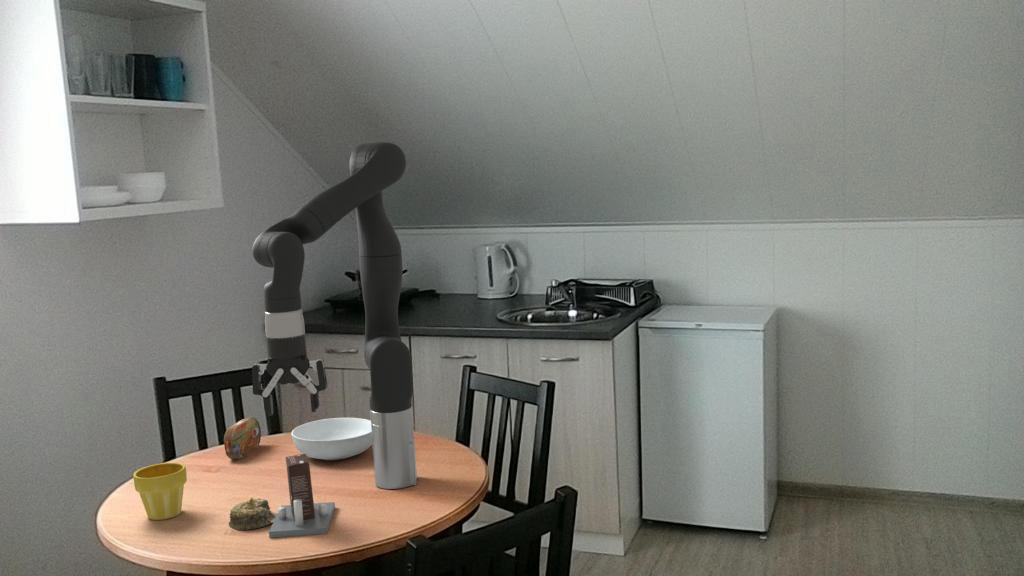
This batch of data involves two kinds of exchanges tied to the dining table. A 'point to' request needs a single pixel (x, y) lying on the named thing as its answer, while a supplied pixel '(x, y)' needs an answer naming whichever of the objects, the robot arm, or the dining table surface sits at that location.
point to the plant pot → (161, 489)
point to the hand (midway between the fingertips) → (292, 412)
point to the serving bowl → (333, 438)
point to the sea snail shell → (251, 515)
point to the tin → (242, 438)
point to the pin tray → (309, 524)
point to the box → (300, 484)
